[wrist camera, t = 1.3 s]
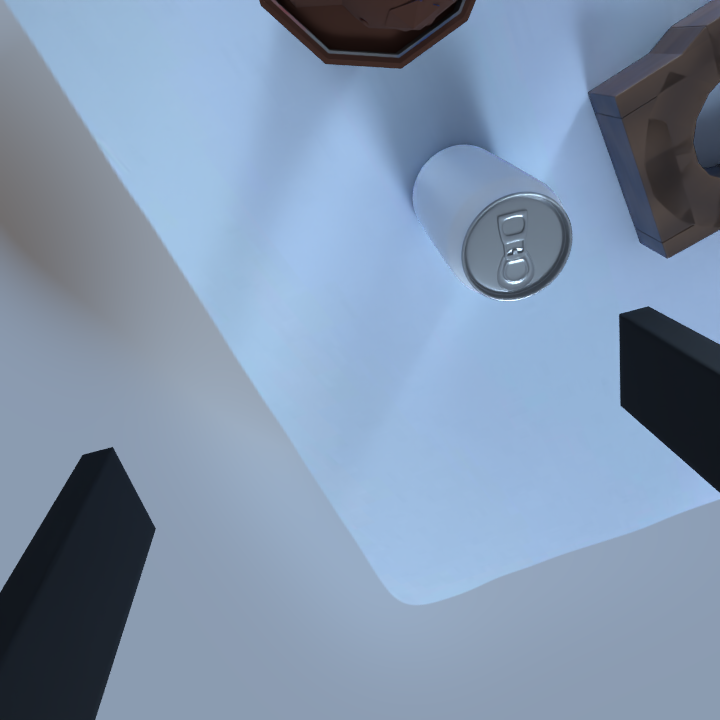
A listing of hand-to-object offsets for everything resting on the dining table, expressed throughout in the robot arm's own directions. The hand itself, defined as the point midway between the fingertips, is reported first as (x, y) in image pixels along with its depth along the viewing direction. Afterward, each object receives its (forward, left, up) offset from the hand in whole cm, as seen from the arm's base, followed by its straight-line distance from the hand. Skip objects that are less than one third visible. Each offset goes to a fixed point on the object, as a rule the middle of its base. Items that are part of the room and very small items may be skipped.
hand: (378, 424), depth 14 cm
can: (+5, +7, -26) cm, 28 cm away
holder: (+10, +24, -26) cm, 37 cm away
